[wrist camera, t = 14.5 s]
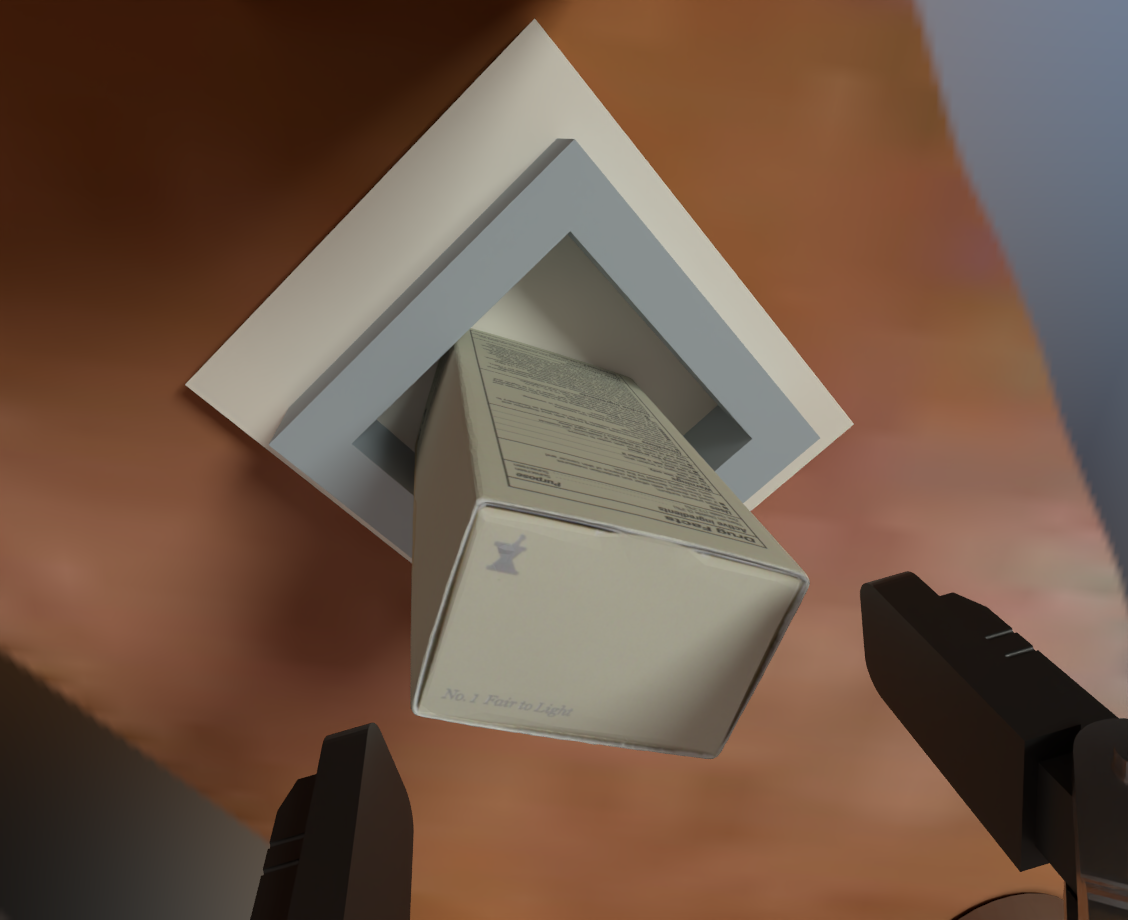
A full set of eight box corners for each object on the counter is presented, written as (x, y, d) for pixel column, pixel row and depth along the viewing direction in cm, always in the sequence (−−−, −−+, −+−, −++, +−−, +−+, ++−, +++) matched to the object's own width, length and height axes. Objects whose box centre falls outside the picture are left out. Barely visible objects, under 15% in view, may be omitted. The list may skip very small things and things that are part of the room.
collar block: (839, 414, 27) (902, 458, 23) (551, 658, 29) (566, 734, 25) (530, 23, 20) (550, -1, 17) (195, 374, 23) (148, 420, 19)
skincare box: (412, 447, 24) (387, 722, 13) (452, 312, 22) (463, 490, 11) (596, 495, 25) (718, 774, 14) (645, 373, 24) (821, 579, 13)
